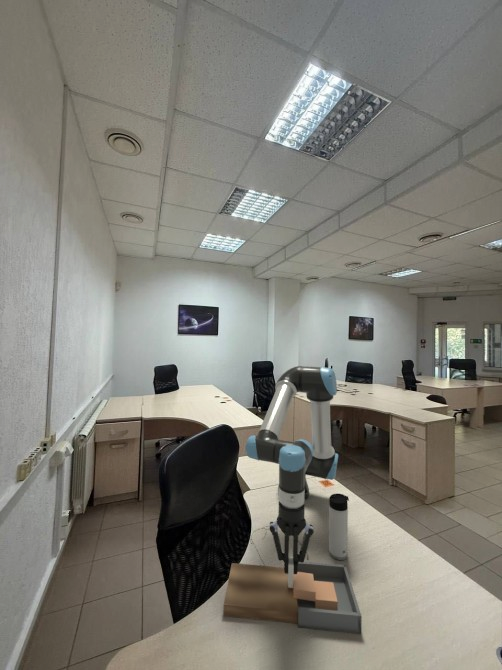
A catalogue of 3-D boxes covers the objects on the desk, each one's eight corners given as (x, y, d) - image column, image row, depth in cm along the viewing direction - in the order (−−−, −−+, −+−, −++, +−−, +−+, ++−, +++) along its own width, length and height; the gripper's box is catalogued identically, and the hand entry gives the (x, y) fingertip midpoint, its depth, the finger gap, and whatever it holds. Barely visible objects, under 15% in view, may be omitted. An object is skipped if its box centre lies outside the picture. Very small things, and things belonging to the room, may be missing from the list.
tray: (294, 575, 88) (294, 560, 88) (345, 579, 86) (345, 565, 86) (298, 627, 72) (298, 609, 72) (361, 633, 70) (361, 616, 71)
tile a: (292, 579, 83) (292, 570, 83) (312, 582, 82) (312, 573, 82) (293, 597, 77) (294, 588, 77) (315, 601, 76) (315, 592, 76)
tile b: (312, 589, 82) (312, 580, 82) (333, 590, 82) (333, 582, 82) (315, 608, 76) (315, 599, 76) (337, 610, 76) (337, 601, 76)
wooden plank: (231, 572, 89) (231, 563, 89) (294, 577, 87) (294, 568, 87) (223, 615, 75) (223, 604, 75) (298, 623, 73) (298, 611, 73)
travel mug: (349, 562, 93) (350, 502, 93) (329, 559, 94) (329, 500, 95) (347, 548, 99) (347, 492, 100) (328, 545, 101) (328, 490, 101)
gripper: (268, 508, 77) (267, 593, 77) (315, 511, 76) (315, 597, 76) (269, 493, 85) (268, 570, 84) (312, 496, 84) (311, 574, 83)
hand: (290, 583), depth 80 cm, fingers closed
